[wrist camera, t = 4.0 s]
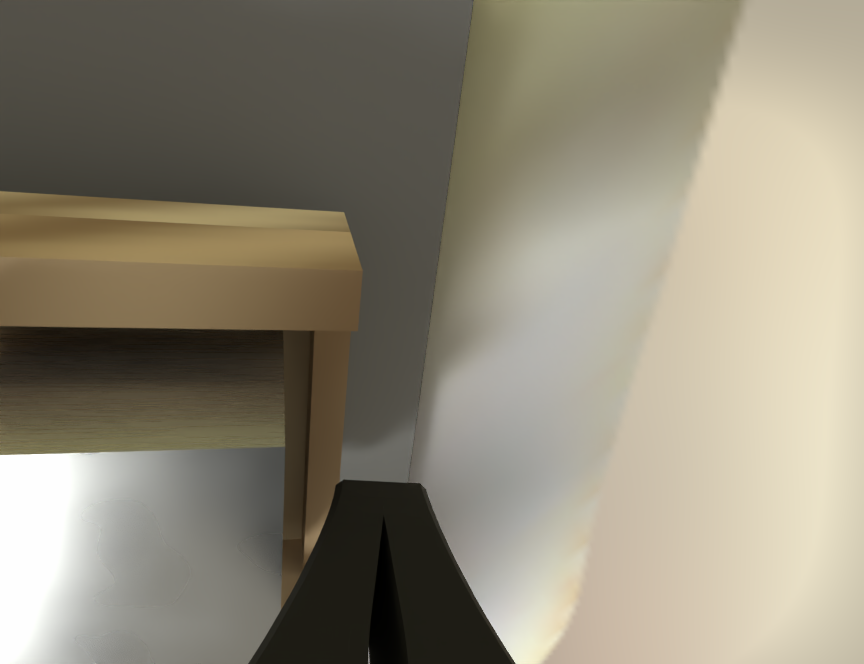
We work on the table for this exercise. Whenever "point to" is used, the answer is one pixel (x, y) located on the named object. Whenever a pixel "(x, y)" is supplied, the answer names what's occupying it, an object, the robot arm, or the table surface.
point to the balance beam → (205, 304)
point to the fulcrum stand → (261, 144)
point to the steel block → (140, 494)
